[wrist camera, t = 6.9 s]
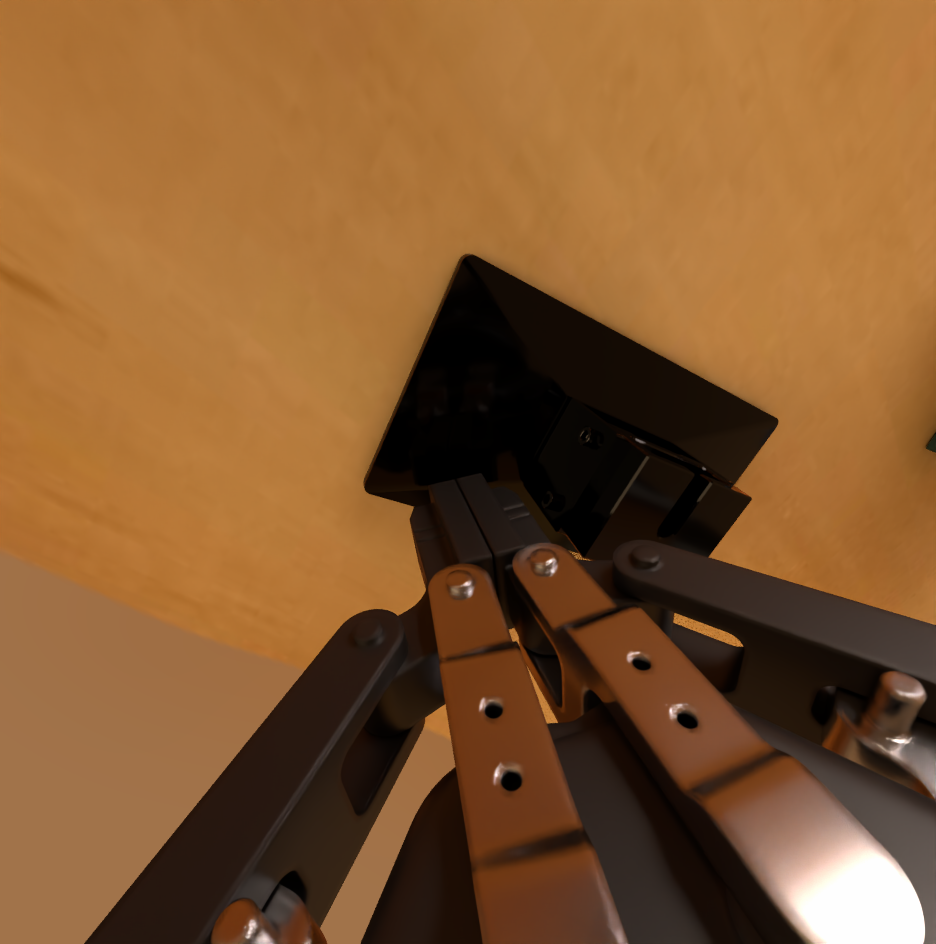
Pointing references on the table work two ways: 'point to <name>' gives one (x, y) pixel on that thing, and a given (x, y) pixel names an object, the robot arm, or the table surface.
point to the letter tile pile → (932, 444)
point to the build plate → (566, 423)
